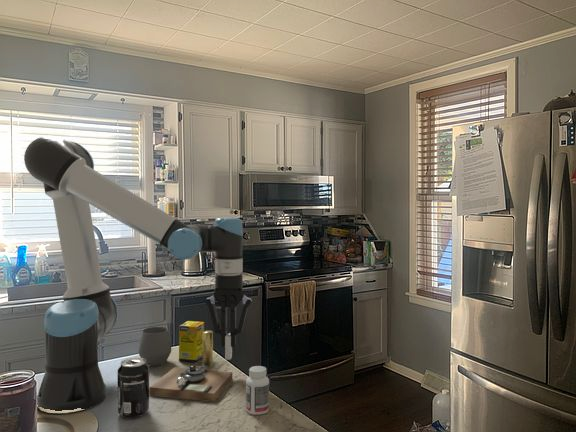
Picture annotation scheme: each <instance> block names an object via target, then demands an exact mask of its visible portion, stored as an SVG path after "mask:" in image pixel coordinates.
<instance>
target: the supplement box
mask: <svg viewBox="0 0 576 432" xmlns="http://www.w3.org/2000/svg"><path fill="white" fill-rule="evenodd" d="M178 330H179V331H178V337H179V338H178V361H179V362H187V363H198V361H200V360H201V359H203V331H205V322H204V321H193V320H187V321H185V322H183V323H182V324H180V325H179V326H178Z"/></svg>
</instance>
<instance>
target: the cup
mask: <svg viewBox="0 0 576 432" xmlns="http://www.w3.org/2000/svg"><path fill="white" fill-rule="evenodd" d="M171 353H172V343H171V338H170V332H169V328H168V327H166V326H150V327H146V328H143V329H142V330H141V335H140V341H139V346H138V355H139V358H144V359H146V364H147V365H148V366H149V367H157V366H162V365H164V364H166V362H167V361H168V359H169V357H170V356H171Z"/></svg>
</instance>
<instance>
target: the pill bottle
mask: <svg viewBox="0 0 576 432" xmlns="http://www.w3.org/2000/svg"><path fill="white" fill-rule="evenodd" d="M267 374H268V373H267V367H266V366H262V365H255V366H254V365H253V366H251V367H250V368H249V369H248V375H249V376H248V377H247V378H246V380H245V381H246V382H245V408H246V409H245V410H246V412H247V413H249V414H250V415H253V416H255V415H256V416H259V415H265V414H266V413H268V412H269V409H270V378H268V376H267Z"/></svg>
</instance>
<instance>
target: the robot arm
mask: <svg viewBox="0 0 576 432" xmlns="http://www.w3.org/2000/svg"><path fill="white" fill-rule="evenodd" d="M23 156H24V157H23V161H24V165H25V168H26V170H27V172H28V173H29V174H30V176H32V177H33V178H34V179H36V180H37V181H39V182H41V183H43V189H44V193H45V195H46V196H48V197H49V198H51V200H52V201H53V202H52V203H53V209H54V214H55V220H56V226H57V231H58V232H57V233H58V238H59V242H60V243H59V244H60V250H61V254H62V255H61V256H62V260H63V267H64V271H65V272H64V273H65V278H66V279H65V280H66V283H67V288H66V291H65V292H64V293H63V294H62V299H63V301H59V302H57V303H54V304H53V305H50V306H49V308H47V310H46V311H45V315H44V322H43V328H44V329H43V330H44V368H45V369H44V375H43V378H42V380H41V383H40V386H39V389H38V393H37V396H36V406H37V405H38V407H42V408H44V409H50V410H55V411H62V410H74V409H77V408H81V409H85V410H84V411H86V410H89V409H91V408H93V407H96V406H98V405H100V404H101V403H102V402H103V401H104V400H105V399H106V397H107V386H106V384H105V381H104V379H103V375H102V372H101V369H100V366H99V342H100V341H101V340H102V339H103V338H104V337H105V336H107V335H108V334H109V333H110V332H111V331H112V329H113V328H114V327H115V325H116V322H117V320H118V317H119V309H118V304H117V303H116V300H115V299H114V298H113V297H111V290H110V286H109V285H107V284H106V283H105V282H103V279H102V278H103V277H102V272H101V267H100V260H99V254H98V249H97V243H96V237H95V231H94V223H93V219H92V212H91V206H92V207H94V208H96V209H97V210H100V211H101V212H104V213H105V214H106V215H108V216H110V217H112V218H113V219H115V220H117V221H118V222H120V223H122V224H123V225H125V226H127V227H129V228H130V229H132V230H134V231H136V232H138V233H139V234H141V235H142V236H143V237H146V238H148V239H149V240H151V241H152V242H154V243H156V244H157V245H159V246H161V247H162V248H164V249H166V250H167V251H169V252H170V254H171V255H172V256H173V257H174V258H175V259H178V260H182V261H185V260H190V259H193V258H195V257H196V256H197V255H199V254H200V253H215V255H214V256H215V257H214V258H215V260H214V261H215V262H214V268H215V269H214V271H215V273H216V274H215V276H214V282H215V283H214V287H215V288H214V292H212V293H213V294H212V295H211V296H210V297H206V299H205V304H206V306H207V307H208V310H209V313H210V318H211V321H212V326H213V330H214V331H213V332H214V333H215V334H219V335H220V337H221V340H220V341H221V347H222V348H223V347H224V349H225V350H224V352H225V353H224V354H225V355H224V360H225V361H226V360H232V357H233V348H234V347H236V343H237V335H238V334H242V331H243V329H244V325H245V321H246V316H247V314H248V313H247V312H248V310H249V306H250V305H251V303H252V302H253V299H252V298H251V297H248V296H246V295H245V292H244V290H243V289H244V286H243V285H244V284H243V278H244V277H243V274H242V272H243V271H244V270H243V269H244V268H243V264H244V263H243V262H244V261H243V251H244V250H243V248H244V247H243V245H244V242H243V241H244V232H243V231H244V229H243V221H242V219H240V218H238V217H217V218H215V222H214V224H210V225H208V224H207V225H205V224H186V223H184V222H183V221H181V220H179V219H176V217H174V216H172V215H171V214H169V213H167V212H166V211H164V210H163V209H160V208H158V207H157V206H155V205H153V204H152V203H150V202H149V201H147V200H145V199H144V198H142V197H141V196H139V195H137V194H135V193H134V192H132V191H130V190H129V189H127V188H125V187H123V186H122V185H120V184H119V183H117V182H116V181H113V180H112V179H110V178H109V177H107V176H105V175H103V174H102V173H100V172H99V171H97V170H95V162H94V159H93V157H92V155H91V154H90V152H89V151H88V150H87V149H86V147H84V146H83V145H81V144H80V143H77V142H76V141H75V142H74V141H72V140H71V141H70V140H66V139H63V138H61V137H58V136H53V135H45V136H39V137H38V138H36V139H34V140H32V142H30V143H29V144H28V146H26V149H25V151H24V155H23ZM216 302H217V303H218V305H219V307H220V312H221V314H220V315H221V318H220V320H219V317H218V312H217V309H216V305H215V303H216ZM240 302H242V304H243V307H242V310H241V313H240V318H239V322H238V324H237V306H238V305H239V304H240ZM228 308H230V309H229V310H230V311H229V312H230V332H229V333H228ZM237 325H238V326H237Z"/></svg>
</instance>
